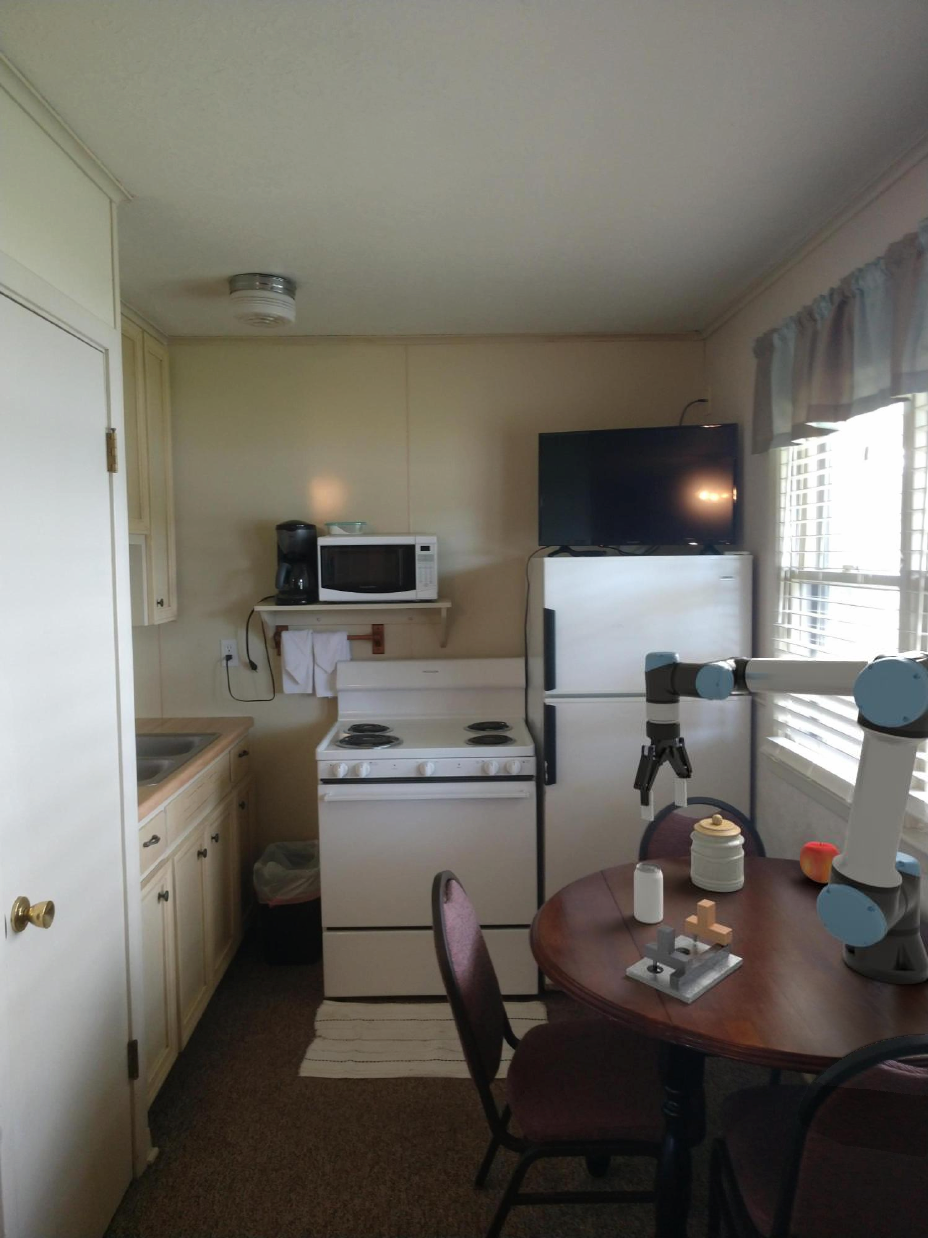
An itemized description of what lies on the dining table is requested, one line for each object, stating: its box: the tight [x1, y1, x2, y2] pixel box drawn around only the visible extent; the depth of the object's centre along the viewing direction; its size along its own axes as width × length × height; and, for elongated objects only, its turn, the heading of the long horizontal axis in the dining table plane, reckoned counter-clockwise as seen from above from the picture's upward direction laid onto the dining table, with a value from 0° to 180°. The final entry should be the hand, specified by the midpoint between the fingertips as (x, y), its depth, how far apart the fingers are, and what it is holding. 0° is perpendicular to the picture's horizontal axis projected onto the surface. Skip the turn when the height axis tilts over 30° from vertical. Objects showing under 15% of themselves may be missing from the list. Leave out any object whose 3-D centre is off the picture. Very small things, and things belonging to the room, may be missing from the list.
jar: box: [690, 814, 745, 893], centre depth 194 cm, size 13×13×18 cm
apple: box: [799, 841, 841, 884], centre depth 193 cm, size 10×10×10 cm
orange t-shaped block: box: [684, 898, 733, 946], centre depth 158 cm, size 9×3×9 cm, turn 42°
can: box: [633, 862, 664, 925], centre depth 175 cm, size 6×6×12 cm
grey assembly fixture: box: [625, 924, 743, 1004], centre depth 152 cm, size 14×20×10 cm
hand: (664, 812), depth 173 cm, fingers open, 13 cm apart
